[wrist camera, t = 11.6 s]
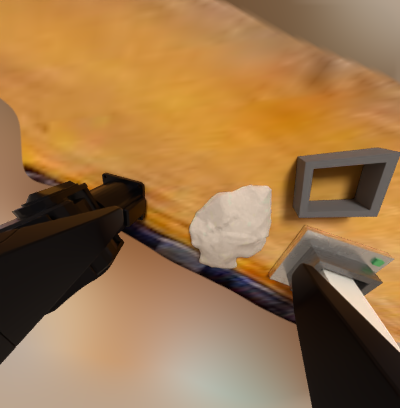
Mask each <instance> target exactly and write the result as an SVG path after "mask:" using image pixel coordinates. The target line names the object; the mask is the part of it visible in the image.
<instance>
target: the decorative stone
mask: <svg viewBox="0 0 400 408" xmlns="http://www.w3.org/2000/svg"><path fill="white" fill-rule="evenodd" d="M271 192H272V190H271V189H270V188H269V187H268V186H252V185H248V186H244V187H241V188H239V189H237V190H235V191H233V192H219V193H216V194H215V195H214V196H213V197H212V198H211V199H210V200H209V201H208V202H207V203H206V204H205V205H204V206H203V208H201V209H200V210H199V211H197V212H196V214H195V217H194V219H193V221H192V223H191V225H190V227H189V232H190V235H191V240H192V245H193V246H194V247H195V248H198V249H199V250H200V252H201V255H200V259H199V262H200V263H202V264H205V265H209V266H210V267H218V268H229V269H231V268H235V267H236V266H237V263H236V258H238V257H245V258H248V257H251V256H253V255H255V254H256V253H257V252H259V251H261V249H262V247H263V246H264V244H265V242H266V237H268V236H269V229H270V225H271V196H272V194H271Z"/></svg>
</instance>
